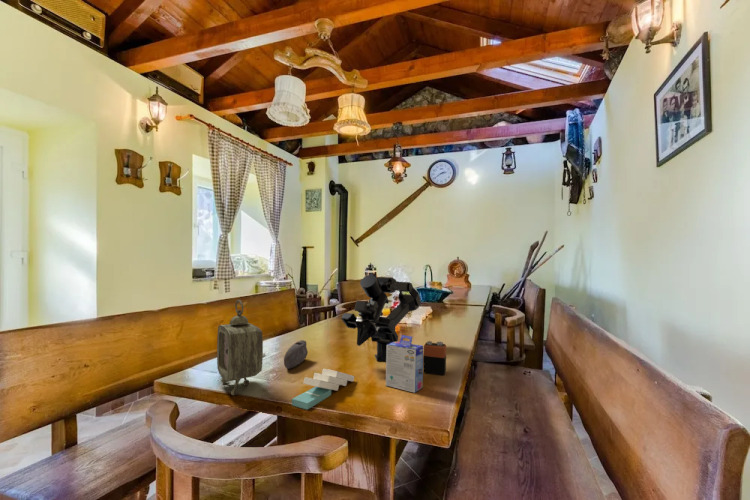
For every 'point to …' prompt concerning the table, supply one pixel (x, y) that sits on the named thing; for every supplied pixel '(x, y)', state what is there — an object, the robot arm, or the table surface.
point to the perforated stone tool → (295, 354)
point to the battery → (435, 358)
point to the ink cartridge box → (404, 365)
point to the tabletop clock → (239, 349)
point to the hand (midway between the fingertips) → (358, 345)
